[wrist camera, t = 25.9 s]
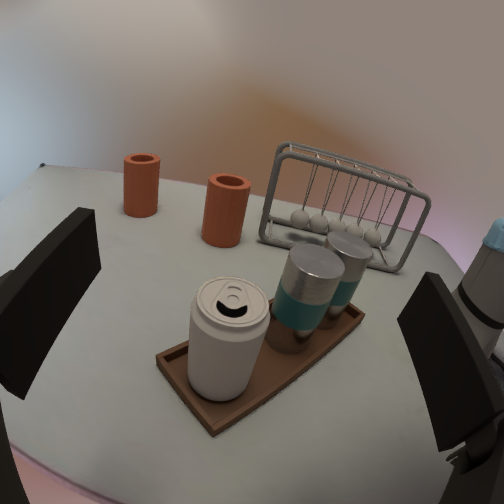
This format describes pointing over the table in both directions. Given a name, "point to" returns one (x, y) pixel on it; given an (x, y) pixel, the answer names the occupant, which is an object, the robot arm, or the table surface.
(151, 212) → the jar
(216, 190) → the jar
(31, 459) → the table surface
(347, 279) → the tray can
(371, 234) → the newton's cradle
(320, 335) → the can tray
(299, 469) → the table surface
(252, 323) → the beverage can
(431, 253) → the table surface
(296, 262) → the tray can
